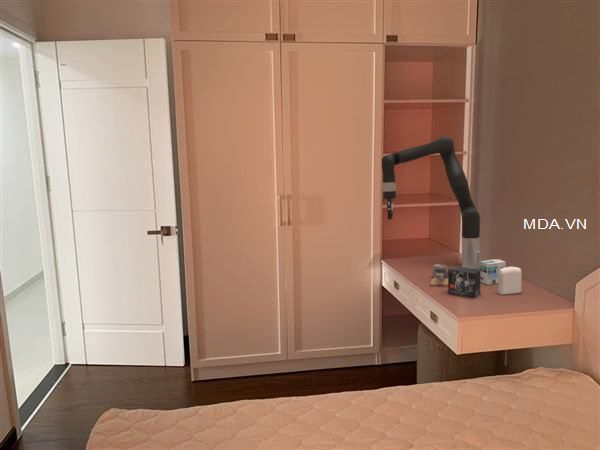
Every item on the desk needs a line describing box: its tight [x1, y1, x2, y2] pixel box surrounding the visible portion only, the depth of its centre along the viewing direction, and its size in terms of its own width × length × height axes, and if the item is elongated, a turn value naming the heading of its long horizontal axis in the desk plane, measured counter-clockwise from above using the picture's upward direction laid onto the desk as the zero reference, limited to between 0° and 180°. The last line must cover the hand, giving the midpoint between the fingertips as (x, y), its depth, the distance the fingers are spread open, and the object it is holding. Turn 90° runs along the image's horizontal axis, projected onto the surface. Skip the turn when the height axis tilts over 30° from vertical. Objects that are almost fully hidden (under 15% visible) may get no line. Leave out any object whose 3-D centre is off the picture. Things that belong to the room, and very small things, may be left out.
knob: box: [432, 264, 448, 278], centre depth 250 cm, size 6×6×7 cm
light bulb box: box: [479, 258, 507, 286], centre depth 238 cm, size 11×7×11 cm, turn 105°
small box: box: [447, 265, 481, 299], centre depth 222 cm, size 13×7×12 cm, turn 47°
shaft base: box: [429, 274, 448, 288], centre depth 241 cm, size 11×11×5 cm
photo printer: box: [497, 266, 522, 295], centre depth 220 cm, size 10×4×12 cm, turn 96°
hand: (390, 218), depth 275 cm, fingers open, 8 cm apart
